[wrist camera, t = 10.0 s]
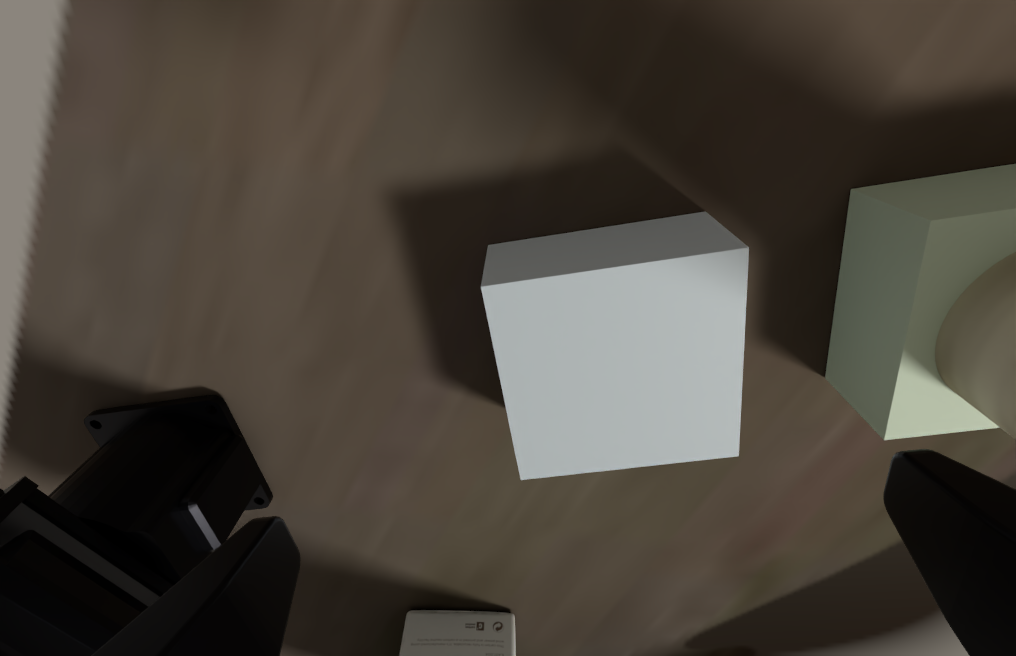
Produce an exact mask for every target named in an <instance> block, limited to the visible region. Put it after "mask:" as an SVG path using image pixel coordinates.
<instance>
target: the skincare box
mask: <svg viewBox="0 0 1016 656" xmlns="http://www.w3.org/2000/svg"><path fill="white" fill-rule="evenodd" d="M399 656H516V643H515V616H514V614H512V613H503V612H483V611H447V610H411V611H409V612H408V613H407V614H406V620H405V626H404V631H403V637H402V643H401V648H400V654H399Z"/></svg>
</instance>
